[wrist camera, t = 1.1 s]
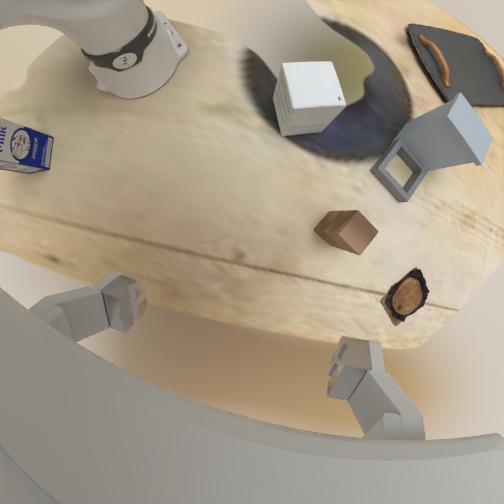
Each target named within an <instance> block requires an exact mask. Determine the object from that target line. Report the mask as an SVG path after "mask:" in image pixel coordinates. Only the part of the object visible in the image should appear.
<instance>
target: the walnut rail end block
mask: <svg viewBox="0 0 504 504" xmlns="http://www.w3.org/2000/svg"><path fill="white" fill-rule="evenodd" d="M314 230H315V231H316V232H317V233H318V234H319V235H320V236H321V237H322V238H323V239H325V240H326V241H327V242H328V243H329V244H330V245H331V246H334V247H337V248H340V249H343V250H346V251H349V252H351V253H354V254H357V255H361V254H362V252H363V251H364V250H365V249H366V247H367V246H368V245H369V243H370V242H371V241H372V240H373V238H374V237H375V236H376V234H377V233H378V231H377V229H376V228H375V227H374V226H373V225H372V224H371V223H370V222H369V221H368V220H367V219H366V218H365V217H364V216H363V215H362V214H361V213H360V212H359V211H358V210H352V211H329V212H328V213H327V215H326V216H325V217H324V218H323V219H322V221H321V222H320V223H319V224H318V225H317V227H316V228H315V229H314Z"/></svg>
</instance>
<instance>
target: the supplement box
mask: <svg viewBox="0 0 504 504" xmlns="http://www.w3.org/2000/svg"><path fill="white" fill-rule="evenodd" d="M273 102H274V106H275V110H276V115H277V119H278V123H279V128H280V132H281V136H290V135H298V134H307V133H317V132H322V131H323V130H324V129H325V128H326V127H327V125H328V124H329V123H330V122H331V121H332V120H333V119H334V118H335V117H336V116H337V115H338V114H339V113H340V112H341V111H342V110H343V109H344V108H345V107H346V102H345V99H344V96H343V93H342V90H341V87H340V84H339V81H338V78H337V75H336V72H335V69H334V66H333V64H332V62H294V63H293V62H292V63H282V65H281V69H280V73H279V77H278V81H277V85H276V88H275V92H274V96H273Z"/></svg>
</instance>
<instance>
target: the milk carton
mask: <svg viewBox="0 0 504 504" xmlns="http://www.w3.org/2000/svg"><path fill="white" fill-rule="evenodd" d="M52 144H53V137H51V136H48V135H46V134H43V133H40V132H38V131H35V130H32V129H30V128H27V127H24V126H21V125H19V124H16V123H13V122H10V121H8V120H5V119H2V118H0V169H2V170H9V171H15V172H22V173H28V174H30V173H35V172H40V171H45V170H50V160H51V152H52Z"/></svg>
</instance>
